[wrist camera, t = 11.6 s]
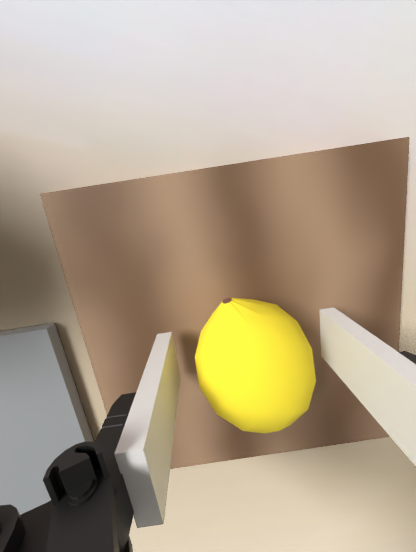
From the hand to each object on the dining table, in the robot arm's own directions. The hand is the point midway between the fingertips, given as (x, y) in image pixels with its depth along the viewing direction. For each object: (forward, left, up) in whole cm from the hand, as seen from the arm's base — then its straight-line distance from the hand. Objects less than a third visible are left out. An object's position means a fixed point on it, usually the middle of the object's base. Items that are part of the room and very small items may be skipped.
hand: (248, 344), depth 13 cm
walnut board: (0, 0, -2) cm, 2 cm away
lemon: (0, 0, -1) cm, 1 cm away
